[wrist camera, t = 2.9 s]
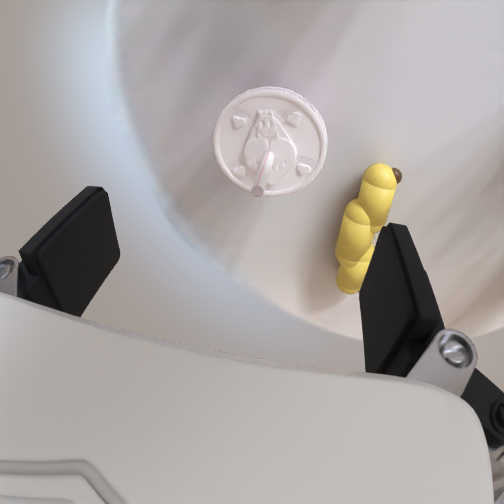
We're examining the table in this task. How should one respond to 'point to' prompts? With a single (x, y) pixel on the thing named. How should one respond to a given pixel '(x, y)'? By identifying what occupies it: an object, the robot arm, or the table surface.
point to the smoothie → (270, 141)
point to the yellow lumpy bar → (364, 225)
